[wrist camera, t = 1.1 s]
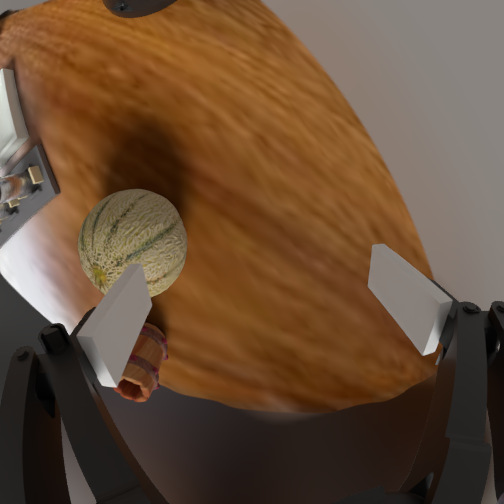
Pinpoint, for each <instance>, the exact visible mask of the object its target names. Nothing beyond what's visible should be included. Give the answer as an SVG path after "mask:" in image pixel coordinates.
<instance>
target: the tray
mask: <svg viewBox="0 0 504 504" xmlns="http://www.w3.org/2000/svg"><path fill="white" fill-rule="evenodd" d="M28 138H29V135H28V131H27V128H26V124H25V121H24V117H23V114H22V110H21V106H20V102H19V97H18V93H17V88H16V83H15V78H14V72H13V70H10V69H5V68H2V69H1V70H0V169H1V168H2V167H3V166H4V165H5V163H6V162H7V161H8V160H9V159H10V158H11V156H12V155H13V154H14V153H15V152H16V151H17V150H18V149H19V148H20V146H21V145H22V144H23V143H24V142H25V141H26V140H27V139H28Z"/></svg>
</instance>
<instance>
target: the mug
mask: <svg viewBox="0 0 504 504" xmlns="http://www.w3.org/2000/svg"><path fill="white" fill-rule="evenodd" d="M167 359H168V355H167V340H166V338H165V336H164V334H163V333H162V332H161V331H160V330H159V329H158V328H157V327H156V326H154V325H152V324H150V323H144V324H143V327H142V329H141V331H140V333H139V336H138V338H137V340H136V343H135V345H134V347H133V350H132V352H131V354H130V357H129V359H128V361H127V364H126V366H125V369H124V371H123V374H122V376H121V379H120V381H119V384H118V386H117V387H113V389H114V390H115V391H116V392H118V393H120V394H121V396H122V397H124V398H127V399H129V400H132V399H133V400H134V401H135V402H143V401H146V400H147V399H148V397H150V395H151V392H152V390H154V389H158V388H159V387H160V386H159V383H158V380H159V375H158V372H159V368H160V365H161V361H163V360H167Z"/></svg>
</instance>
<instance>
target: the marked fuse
mask: <svg viewBox="0 0 504 504" xmlns="http://www.w3.org/2000/svg"><path fill="white" fill-rule="evenodd" d="M15 210H16V206H14V207H12V208H10V205H9V203H8V202H5V203H3V204H0V219H2V218H4V217H7V216H9V215H11V214H13V213H14V212H15Z"/></svg>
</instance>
